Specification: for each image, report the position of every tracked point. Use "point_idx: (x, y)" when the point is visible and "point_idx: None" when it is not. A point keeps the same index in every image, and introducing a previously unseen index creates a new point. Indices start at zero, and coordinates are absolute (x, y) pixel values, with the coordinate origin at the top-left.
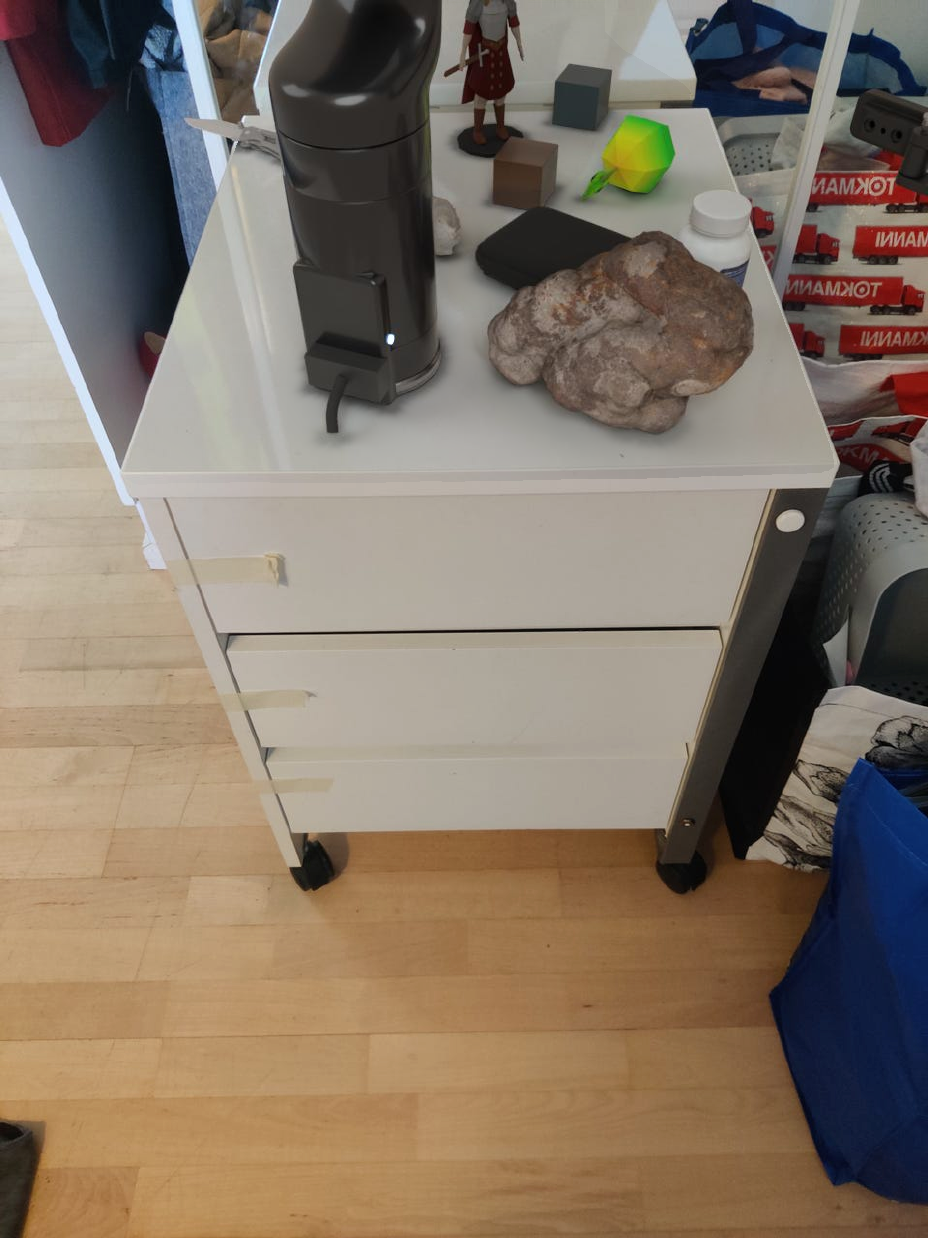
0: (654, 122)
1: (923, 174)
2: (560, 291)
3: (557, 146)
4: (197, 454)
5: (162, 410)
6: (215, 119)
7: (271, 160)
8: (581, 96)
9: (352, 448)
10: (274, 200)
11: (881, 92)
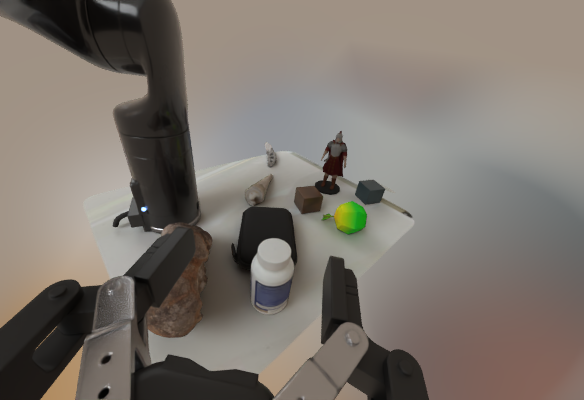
0: (360, 209)
1: (63, 333)
2: (166, 231)
3: (321, 196)
4: (95, 205)
5: (119, 190)
6: (270, 145)
7: (267, 159)
8: (364, 190)
9: (111, 235)
10: (248, 166)
11: (181, 234)
